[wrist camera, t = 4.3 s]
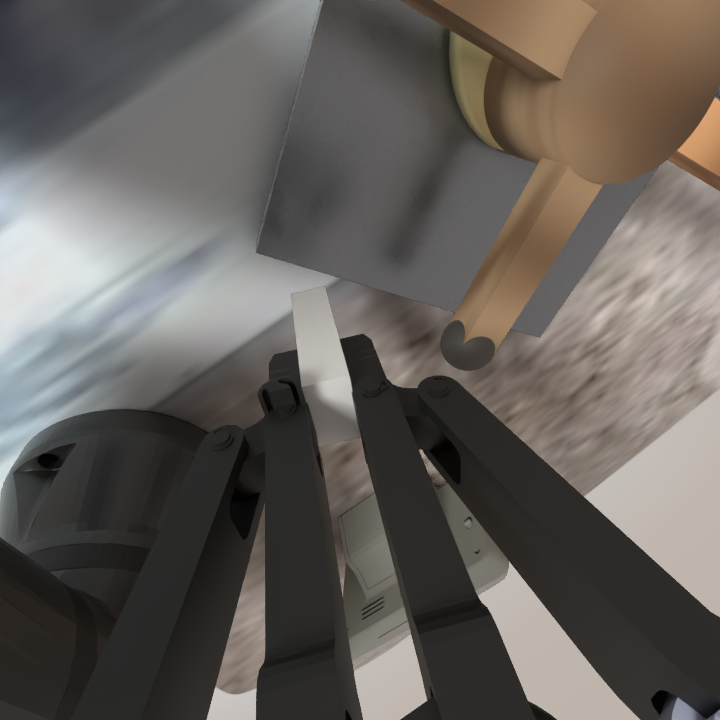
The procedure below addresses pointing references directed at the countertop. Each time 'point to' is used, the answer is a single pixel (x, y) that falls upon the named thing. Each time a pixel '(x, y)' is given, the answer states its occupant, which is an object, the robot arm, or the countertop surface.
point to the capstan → (573, 123)
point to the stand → (405, 170)
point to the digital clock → (378, 578)
